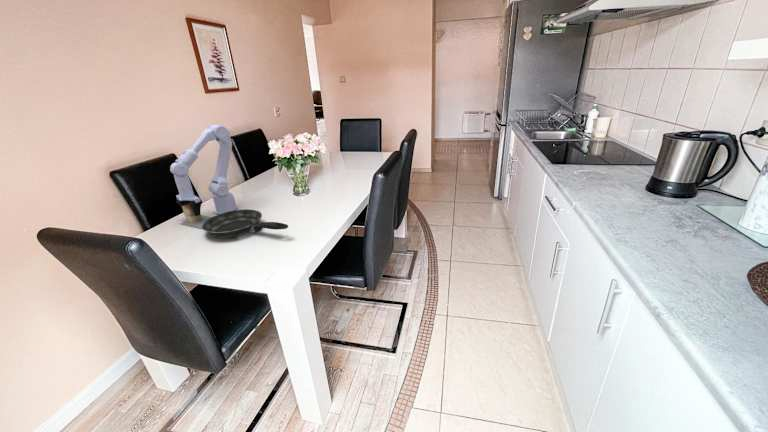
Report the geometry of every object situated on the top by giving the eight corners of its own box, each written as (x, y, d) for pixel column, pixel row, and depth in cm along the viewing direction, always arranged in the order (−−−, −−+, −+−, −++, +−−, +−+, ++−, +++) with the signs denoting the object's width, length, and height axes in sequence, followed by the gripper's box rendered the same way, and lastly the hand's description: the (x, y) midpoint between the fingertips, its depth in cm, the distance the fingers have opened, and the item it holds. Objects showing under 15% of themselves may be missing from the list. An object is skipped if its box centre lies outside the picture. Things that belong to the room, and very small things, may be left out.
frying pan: (191, 236, 138) (187, 223, 136) (237, 215, 159) (234, 203, 156) (266, 255, 121) (263, 240, 118) (307, 228, 142) (305, 215, 139)
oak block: (196, 217, 157) (191, 202, 154) (201, 218, 155) (197, 203, 152) (186, 221, 153) (181, 206, 150) (192, 222, 151) (187, 207, 148)
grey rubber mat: (200, 215, 160) (200, 214, 160) (225, 220, 153) (225, 220, 153) (180, 224, 151) (180, 223, 151) (205, 230, 144) (204, 229, 144)
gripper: (166, 188, 147) (175, 215, 153) (186, 192, 142) (195, 219, 147) (181, 184, 153) (189, 209, 159) (200, 187, 147) (208, 213, 153)
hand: (192, 214), depth 153 cm, fingers open, 7 cm apart
